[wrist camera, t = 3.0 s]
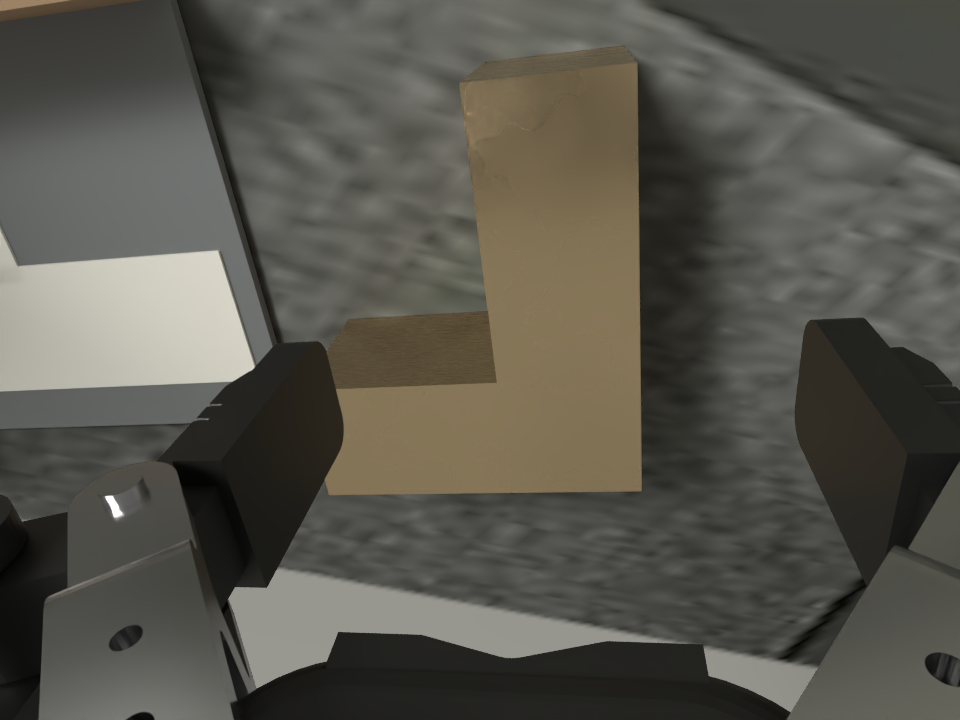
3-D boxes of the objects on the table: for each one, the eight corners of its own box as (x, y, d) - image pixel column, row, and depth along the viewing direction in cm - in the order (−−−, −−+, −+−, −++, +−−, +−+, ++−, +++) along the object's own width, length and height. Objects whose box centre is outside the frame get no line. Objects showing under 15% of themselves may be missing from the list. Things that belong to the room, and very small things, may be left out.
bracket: (630, 403, 25) (641, 491, 20) (370, 411, 26) (329, 494, 22) (623, 45, 19) (637, 62, 15) (294, 85, 21) (219, 111, 16)
